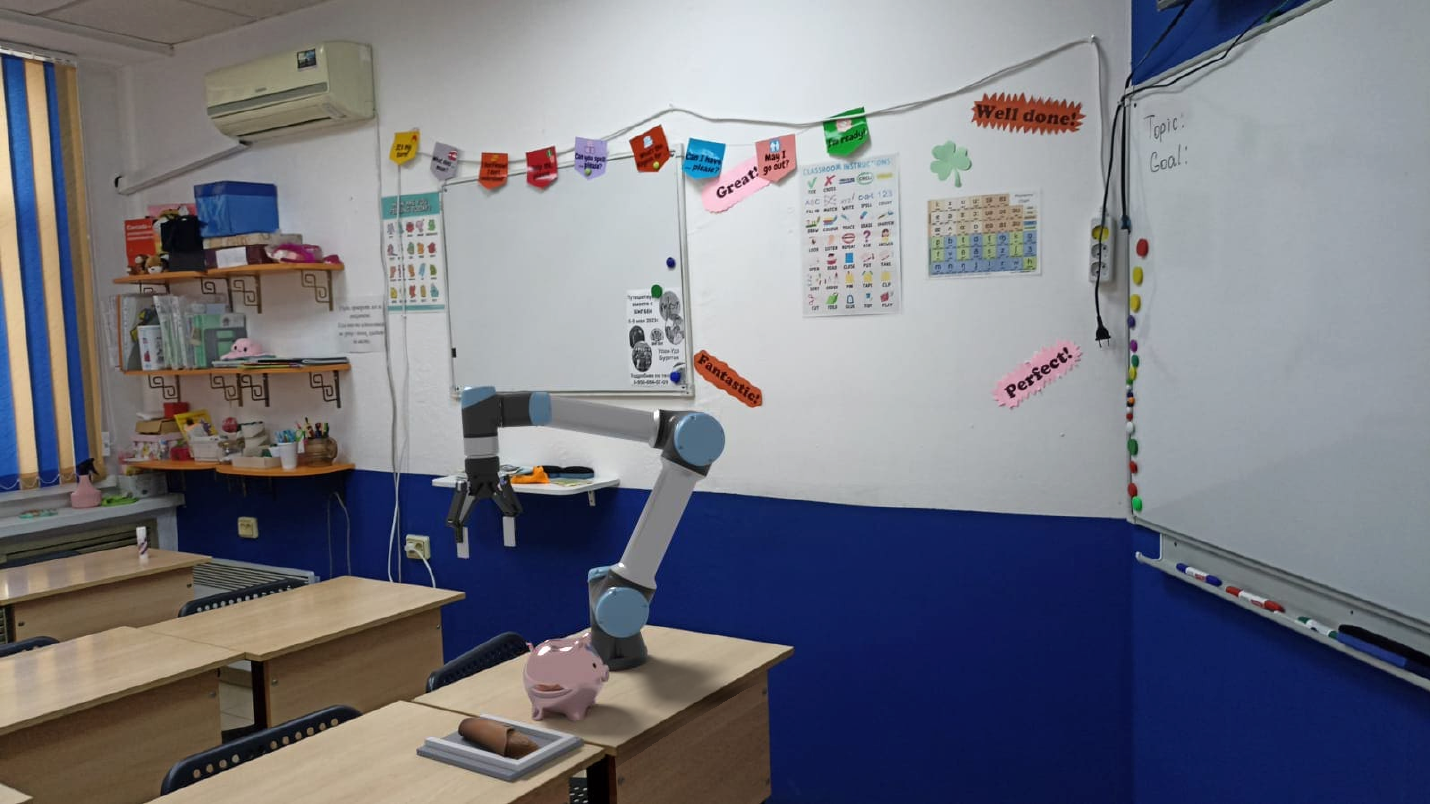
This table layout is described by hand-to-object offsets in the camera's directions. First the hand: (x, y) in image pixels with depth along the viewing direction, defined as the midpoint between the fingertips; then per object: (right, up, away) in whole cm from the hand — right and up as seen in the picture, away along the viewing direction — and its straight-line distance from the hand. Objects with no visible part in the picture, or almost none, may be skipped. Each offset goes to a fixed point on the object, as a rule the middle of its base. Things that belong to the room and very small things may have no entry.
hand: (487, 551), depth 217 cm
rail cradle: (+10, -33, -31) cm, 46 cm away
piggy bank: (+20, -32, -12) cm, 39 cm away
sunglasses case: (+10, -32, -31) cm, 46 cm away
